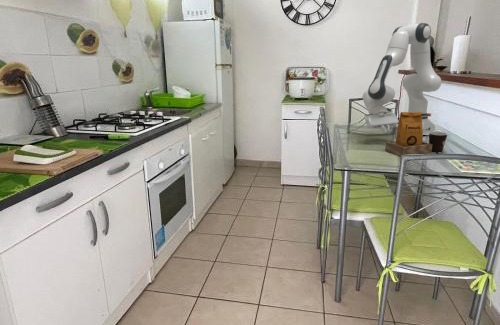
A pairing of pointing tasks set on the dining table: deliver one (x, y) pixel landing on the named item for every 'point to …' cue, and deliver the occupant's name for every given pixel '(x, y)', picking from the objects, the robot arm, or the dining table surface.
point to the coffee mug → (437, 141)
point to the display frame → (408, 149)
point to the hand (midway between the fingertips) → (387, 132)
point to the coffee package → (409, 129)
